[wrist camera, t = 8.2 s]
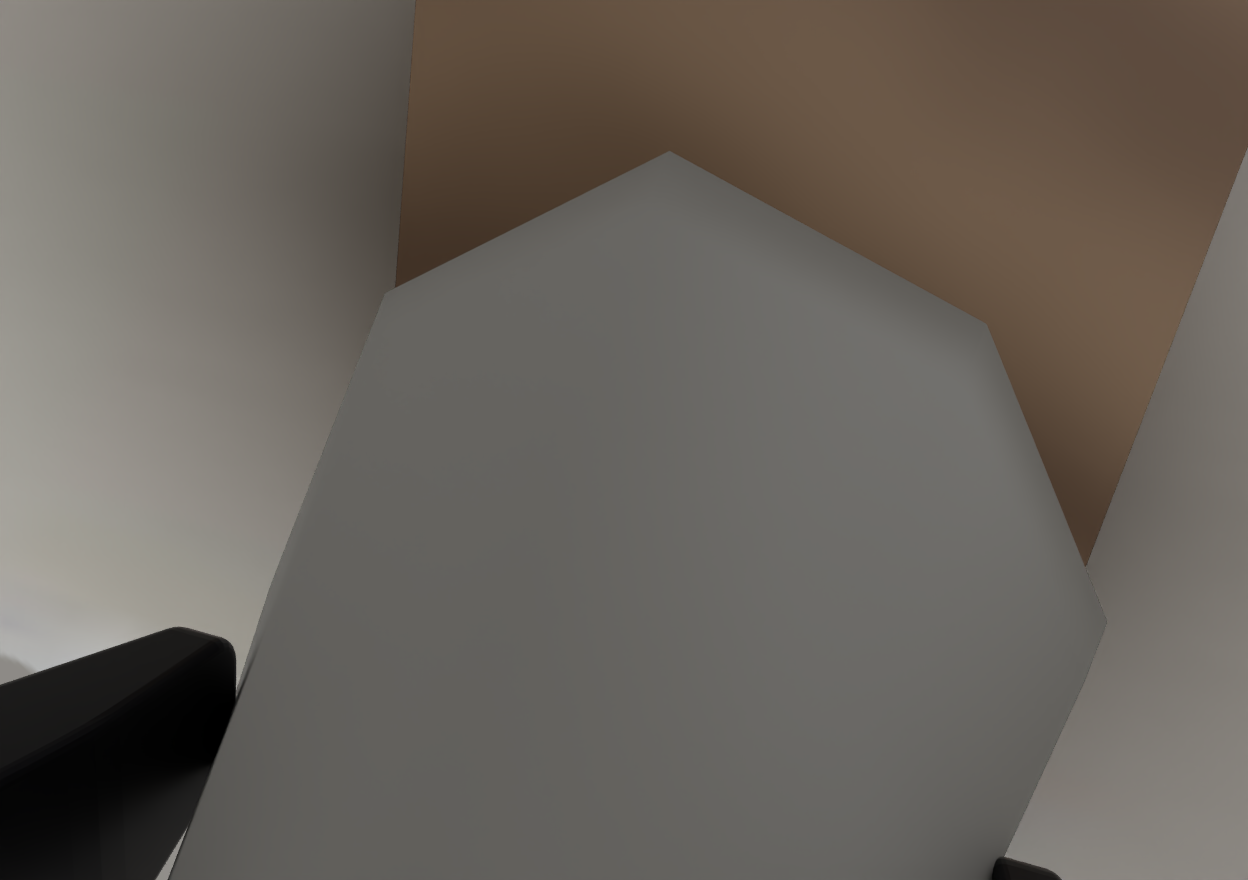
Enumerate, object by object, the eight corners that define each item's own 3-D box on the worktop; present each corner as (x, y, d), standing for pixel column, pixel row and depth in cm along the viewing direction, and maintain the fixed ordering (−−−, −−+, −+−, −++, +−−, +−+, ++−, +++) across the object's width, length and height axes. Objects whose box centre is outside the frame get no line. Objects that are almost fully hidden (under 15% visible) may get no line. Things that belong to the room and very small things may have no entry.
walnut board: (951, 859, 21) (954, 905, 20) (387, 701, 23) (363, 735, 22) (1334, -164, 14) (1373, -179, 13) (468, -287, 16) (437, -308, 15)
